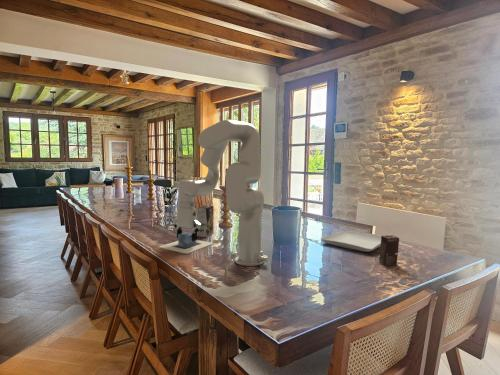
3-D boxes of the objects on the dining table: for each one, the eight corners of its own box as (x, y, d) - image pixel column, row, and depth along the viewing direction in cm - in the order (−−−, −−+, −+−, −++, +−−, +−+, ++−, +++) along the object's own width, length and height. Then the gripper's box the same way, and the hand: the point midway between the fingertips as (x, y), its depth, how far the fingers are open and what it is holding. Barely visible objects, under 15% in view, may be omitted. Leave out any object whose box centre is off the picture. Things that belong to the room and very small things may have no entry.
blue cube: (195, 245, 163) (195, 233, 163) (187, 248, 158) (187, 236, 157) (186, 243, 166) (186, 232, 166) (178, 246, 161) (178, 234, 160)
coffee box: (208, 237, 179) (208, 208, 177) (197, 236, 180) (197, 207, 179) (213, 233, 187) (214, 205, 186) (203, 232, 189) (203, 205, 187)
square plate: (392, 245, 171) (392, 237, 170) (371, 256, 151) (371, 248, 150) (344, 235, 189) (344, 229, 189) (319, 244, 169) (319, 237, 169)
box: (385, 266, 137) (387, 238, 136) (378, 262, 141) (380, 235, 140) (398, 265, 138) (399, 237, 137) (391, 262, 143) (392, 234, 141)
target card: (213, 243, 166) (213, 243, 166) (186, 253, 149) (186, 253, 149) (186, 238, 175) (186, 237, 175) (158, 247, 158) (158, 246, 158)
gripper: (205, 205, 159) (205, 240, 161) (178, 202, 168) (179, 235, 169) (195, 207, 152) (195, 243, 154) (168, 204, 161) (168, 238, 163)
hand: (186, 239), depth 162 cm, fingers open, 9 cm apart
